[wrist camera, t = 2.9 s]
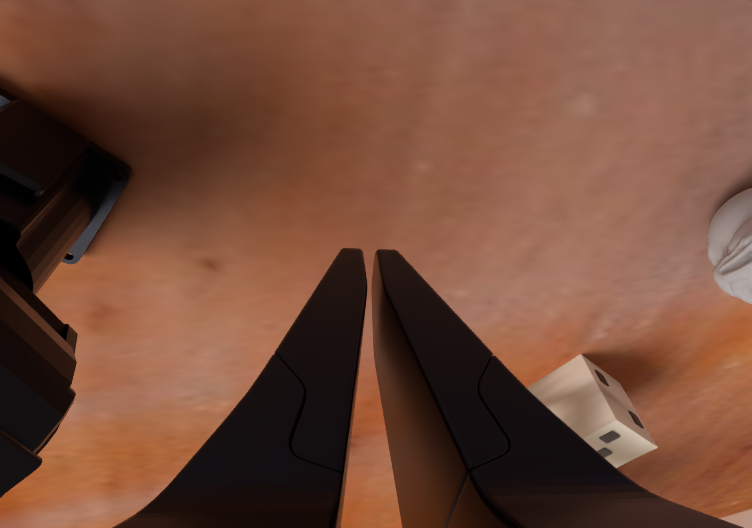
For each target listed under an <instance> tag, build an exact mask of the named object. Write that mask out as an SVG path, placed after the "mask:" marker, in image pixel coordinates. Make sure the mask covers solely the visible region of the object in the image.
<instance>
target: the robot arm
mask: <svg viewBox="0 0 752 528" xmlns="http://www.w3.org/2000/svg"><path fill="white" fill-rule="evenodd" d="M114 170H118V171H120V172H121V173H122V174H123V176H119V175H117V174H116V173H115V172H114ZM132 175H133V173H132V169H131V168H130V166H129V165H127V164H126V163H125V162H123V161H121V160H120V159H118V158H116V157H115V156H113V155H111V154H110V153H108V152H106V151H105V150H103V149H101V148H100V147H98V146H96V145H95V144H93V143H91V142H90V141H88V140H87V139H86V138H85V137H84V136H82V135H81V134H79V133H77V132H76V131H74V130H72V129H70V128H69V127H67V126H65V125H64V124H62V123H60V122H59V121H57V120H55V119H54V118H52V117H50V116H49V115H47V114H45V113H44V112H42V111H40V110H39V109H37V108H35V107H34V106H32V105H30V104H29V103H27V102H25V101H23V100H19V99H17V98H16V97H14V96H12V95H11V94H9V93H7V92H6V91H4V90H2V89H1V88H0V498H1V497H2V496H3V495H4V494H5V493H6V492H7V491H9V490H10V489H11V488H13V487H14V486H15V485H17V484H18V483H19V482H21V481H22V480H23V479H25V478H26V477H27V476H28V475H30V474H31V473H32V472H34V471H35V470H36V469H37V468H38V467H39V466H40V465H41V463H42V458H40V457H39V456H38V455H37V454H38V453H39V452H40V451H41V450H42V449H43V448H44V447H45V446H46V445H47V443H48V442H49V441H50V439H51V438H52V437H53V435H54V434H55V432H56V431H57V429H58V427H59V425H60V423H61V422H62V420H63V419H64V417H65V416H66V414H67V412H68V411H69V409H70V407H71V405H72V404H73V401H74V398H75V395H76V393H75V391H74V390H73V389H72V388H71V387H70V386H71V384H72V380H73V376H74V371H75V367H76V363H77V362H76V358H75V355H74V354H75V348H76V341H77V333H76V332H75V331H74V330H73V329H72V328H71V327H70V326H69V324H63V323H62V322H61V321H60V320H59V319H58V318H57V317H56V316H55V315H54V314H53V313H52V311H51V310H50V309H49V308H48V307H47V306H46V305H45V304H44V303H43V302H42V301H41V300H40V299H39V298H38V297H37V296H36V294H37V292H38V291H39V290H40V288H41V287H42V286H43V284H44V283H45V282H46V281H47V279H48V278H49V277H50V275H51V274H52V273H53V271H54V270H55V269H56V267H57V266H58V265H59V263H60V262H61V261H62V262H64V263H67V264H75V263H77V262H78V261H79V260H80V258H81V257H82V255H83V254H84V252H85V251H86V249H87V247H88V246H89V244H90V243H91V241H92V240H93V238H94V236H95V235H96V233H97V232H98V230H99V228H100V227H101V225H102V224H103V222H104V221H105V219H106V217H107V216H108V214H109V213H110V211H111V209H112V208H113V206H114V205H115V203H116V202H117V200H118V198H119V197H120V195H121V194H122V192H123V190H124V189H125V187H126V186H127V184H128V183H129V181H130V179H131V178H132ZM68 252H70V253H71V254H72V255H70V254H68ZM366 298H367V278H366V271H365V264H364V257H363V251H362V250H361V249H355V248H343V249H341V250H340V252H339V253H338V255H337V256H336V258H335V260H334V261H333V263H332V264H331V266H330V267H329V269H328V270H327V272H326V273H325V275H324V277H323V278H322V280H321V281H320V283H319V284H318V286H317V287H316V289H315V291H314V292H313V294H312V295H311V297H310V298H309V300H308V301H307V303H306V304H305V306H304V308H303V309H302V311H301V312H300V314H299V315H298V317H297V318H296V320H295V322H294V323H293V325H292V326H291V328H290V329H289V331H288V332H287V334H286V335H285V337H284V339H283V340H282V342H281V343H280V345H279V346H278V348H277V349H276V351H275V354H274V355H272V357H271V358H270V360H269V361H268V363H267V365H266V366H265V368H264V369H263V371H262V372H261V374H260V375H259V376H258V378H257V379H256V381H255V382H254V383H253V385H252V386H251V388H250V389H249V391H248V392H247V393H246V394H245V396H244V397H243V398H242V399H241V401H240V402H239V403H238V404H237V406H236V407H235V408H234V409H233V411H232V412H231V413H230V414H229V415H228V417H227V418H226V419H225V420H224V421H223V422H222V424H221V425H220V426H219V427H218V428H217V429H216V431H215V432H214V433H213V434H212V435H211V436H210V438H209V439H208V440H207V441H206V442H205V443H204V445H203V446H202V447H201V448H200V449H199V450H198V452H197V453H196V454H195V455H194V456H193V457H192V459H191V460H190V461H189V462H188V463H187V464H186V466H185V467H184V468H183V469H182V470H181V471H180V473H179V474H178V475H177V476H176V477H175V478H174V479H173V480H172V482H171V483H170V484H169V485H168V486H167V487H166V488H165V489H164V490H163V491H162V492H161V493H160V494H159V495H158V496H157V497H156V498H155V499H154V500H152V501H151V502H150V503H149V504H148V505H147V506H145V507H144V508H143V509H141V510H140V511H139V512H137V513H136V514H135V515H133V516H132V517H130V518H128V519H127V520H125V521H123V522H121V523H120V524H118V525H116V526H114V527H113V528H341V520H342V511H343V503H344V494H345V486H346V477H347V468H348V460H349V451H350V443H351V434H352V425H353V417H354V408H355V400H356V391H357V383H358V374H359V365H360V355H361V346H362V336H363V327H364V317H365V307H366ZM372 318H373V347H374V359H375V366H376V373H377V379H378V385H379V390H380V396H381V402H382V408H383V414H384V420H385V426H386V432H387V438H388V444H389V450H390V456H391V462H392V468H393V474H394V480H395V485H396V491H397V497H398V503H399V509H400V515H401V521H402V527H403V528H743V527H741V526H738V525H735V524H732V523H729V522H727V521H724V520H721V519H718V518H716V517H713V516H710V515H707V514H704V513H702V512H699V511H696V510H693V509H691V508H688V507H685V506H682V505H679V504H677V503H674V502H671V501H669V500H666V499H664V498H661V497H659V496H657V495H655V494H653V493H651V492H649V491H648V490H646V489H644V488H643V487H641V486H639V485H638V484H636V483H635V482H634V481H632V480H631V479H629V478H628V477H627V476H625V475H624V474H623V473H622V472H620V471H619V470H618V469H617V468H615V467H614V466H613V465H612V464H611V463H610V462H609V461H607V460H606V459H605V458H604V457H603V456H602V455H601V454H599V453H598V452H597V451H596V450H595V449H594V448H593V447H591V446H590V445H589V444H588V443H587V442H586V441H585V440H584V439H582V438H581V437H580V436H579V435H578V434H577V433H576V432H574V431H573V430H572V429H571V428H570V427H569V426H568V425H567V424H565V423H564V422H563V421H562V420H561V419H560V418H559V417H557V416H556V415H555V414H554V413H553V412H552V411H551V410H550V409H549V408H547V407H546V406H545V405H544V404H543V403H542V402H541V401H540V400H539V399H538V398H537V397H536V396H534V395H533V394H532V393H531V392H530V391H529V390H528V389H527V388H526V387H525V386H524V385H523V384H522V383H521V382H520V381H519V380H518V379H517V378H516V377H515V376H514V375H513V374H512V373H511V372H510V371H509V370H508V369H507V368H506V366H505V365H504V364H503V363H502V362H501V361H500V360H499V359H498V358H497V357H496V356H493V353H492V352H491V351H490V350H489V348H488V347H487V346H486V345H485V344H484V343H483V342H482V341H481V340H480V339H479V338H478V337H477V336H476V335H475V333H474V332H473V331H472V330H471V329H470V328H469V327H468V326H467V325H466V324H465V323H464V322H463V321H462V320H461V318H460V317H459V316H458V315H457V314H456V313H455V312H454V311H453V310H452V309H451V308H450V307H449V306H448V305H447V303H446V302H445V301H444V300H443V299H442V298H441V297H440V296H439V295H438V294H437V293H436V292H435V291H434V290H433V288H432V287H431V286H430V285H429V284H428V283H427V282H426V281H425V280H424V279H423V278H422V277H421V276H420V275H419V273H418V272H417V271H416V270H415V269H414V268H413V267H412V266H411V265H410V264H409V263H408V262H407V261H406V260H405V258H404V257H403V256H402V255H401V254H400V253H399V252H398V251H396V250H387V249H378V250H377V251H376V253H375V259H374V268H373V277H372Z"/></svg>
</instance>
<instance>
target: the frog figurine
mask: <svg viewBox="0 0 752 528" xmlns="http://www.w3.org/2000/svg"><path fill="white" fill-rule="evenodd" d="M708 246H709V247H708V249H707V250H708V251H707V253H708V258H709V260H710V261H711V263H712V264H713V266H714V269H713V276H714V279H715V281H716V283H717V285H718V286H719V287H720V288H721V289H722V290H723V291H724V292H726V293H728V294H729V295H731V296H733V297H737V298H740V299H741V300H743V301H745V302H747V303H750V304H752V188H749V189H747V190H744V191H742V192H740V193H738V194H736V195H735V196H733V197H732V198H730V199H729V200H728V201H727V202H725V203H724V204H723V205H722V206H721V207H720V208H719V210H718V211H717V212H716V213H715V215H714V217H713V219H712V221H711V223H710V226H709V230H708Z"/></svg>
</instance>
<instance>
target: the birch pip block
mask: <svg viewBox="0 0 752 528" xmlns="http://www.w3.org/2000/svg"><path fill="white" fill-rule="evenodd" d="M527 389H528V390H529V391H530V392H531V393H532V394H533V395H534V396H536V397H537V398H538V399H539V400H540V401H541V402H542V403H543V404H544V405H545V406H546V407H547V408H549V409H550V410H551V411H552V412H553V413H554V414H555V415H556V416H557V417H559V418H560V419H561V420H562V421H563V422H564V423H565V424H567V425H568V426H569V427H570V428H571V429H572V430H573V431H574V432H576V433H577V434H578V435H579V436H580V437H581V438H582V439H584V440H585V441H586V442H587V443H588V444H589V445H590V446H591V447H593V448H594V449H595V450H596V451H597V452H598V453H599V454H601V455H602V456H603V457H604V458H605V459H606V460H607V461H609V462H610V463H611V464H612V465H613V466H614V467H615V468H617V467H619V466H621V465H623V464H625V463H627V462H629V461H632V460H634V459H636V458H638V457H640V456H642V455H644V454H646V453H648V452H650V451H652V450H654V449H656V448H658V447H657V445H656V443H655V442H654V440H653V438H652V437H651V435H650V433H649V431H648V430H647V428H646V426H645V425H644V423H643V421H642V420H641V418H640V416H639V415H638V413H637V411H636V410H635V408H634V406H633V404H632V403H631V401H630V399H629V398H628V396H627V394H626V393H625V391H624V389H623V388H622V386H621V384H620V383H619V382H618V381H617V380H615V379H614V378H612V377H611V376H610V375H608V374H607V373H606V372H604V371H603V370H602V369H600V368H599V367H598V366H596V365H595V364H594V363H592V362H591V361H589V360H588V359H587V358H585V357H584V356H583V355H581V354H580V355H578V356H577V357H575V358H574V359H572V360H570V361H569V362H567V363H566V364H564V365H563V366H561V367H559V368H558V369H556V370H555V371H553V372H551V373H550V374H548V375H547V376H545V377H544V378H542V379H540V380H539V381H537V382H536V383H534V384H532V385H531V386H529V387H528V388H527Z"/></svg>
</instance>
